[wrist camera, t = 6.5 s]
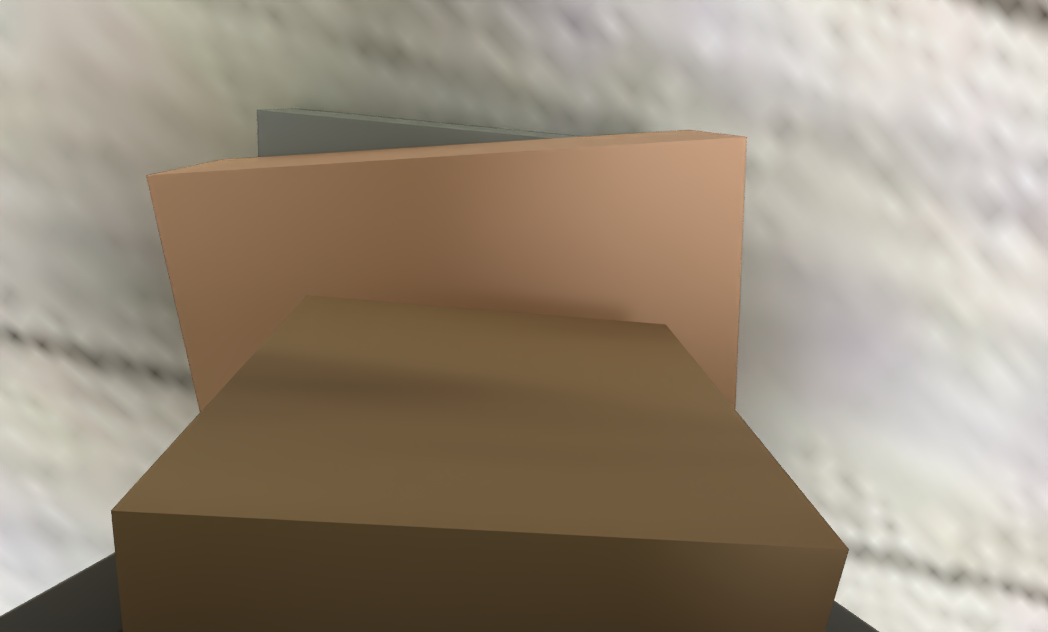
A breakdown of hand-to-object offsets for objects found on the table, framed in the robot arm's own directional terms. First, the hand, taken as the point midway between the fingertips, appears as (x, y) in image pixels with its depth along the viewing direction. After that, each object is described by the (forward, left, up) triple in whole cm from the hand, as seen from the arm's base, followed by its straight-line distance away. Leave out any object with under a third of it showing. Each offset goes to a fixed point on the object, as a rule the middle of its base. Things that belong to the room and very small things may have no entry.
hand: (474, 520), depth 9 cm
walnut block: (0, 0, -1) cm, 1 cm away
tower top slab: (0, 0, -6) cm, 6 cm away
